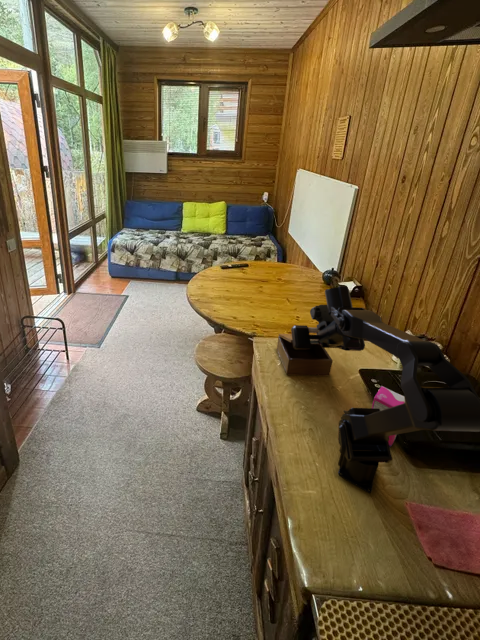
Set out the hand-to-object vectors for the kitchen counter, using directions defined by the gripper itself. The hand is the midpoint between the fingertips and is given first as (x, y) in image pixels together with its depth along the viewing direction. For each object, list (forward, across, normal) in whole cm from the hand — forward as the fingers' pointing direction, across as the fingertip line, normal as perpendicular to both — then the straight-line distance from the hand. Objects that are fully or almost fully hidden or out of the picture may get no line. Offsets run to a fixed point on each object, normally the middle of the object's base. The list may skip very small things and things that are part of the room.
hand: (315, 343), depth 91 cm
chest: (+14, 0, +4) cm, 15 cm away
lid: (+8, 0, -3) cm, 9 cm away
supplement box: (-4, -11, +23) cm, 26 cm away
